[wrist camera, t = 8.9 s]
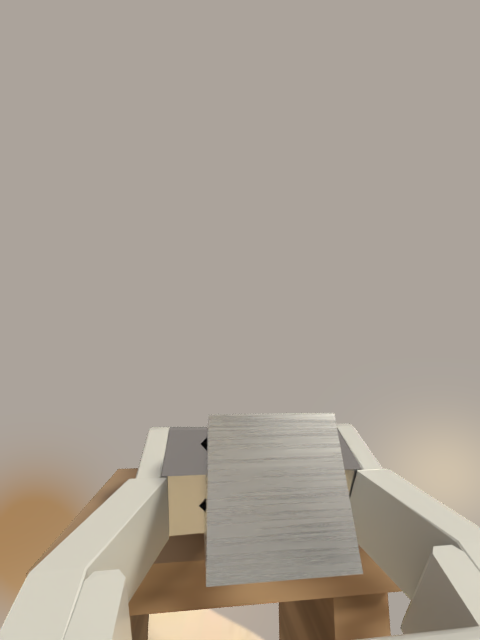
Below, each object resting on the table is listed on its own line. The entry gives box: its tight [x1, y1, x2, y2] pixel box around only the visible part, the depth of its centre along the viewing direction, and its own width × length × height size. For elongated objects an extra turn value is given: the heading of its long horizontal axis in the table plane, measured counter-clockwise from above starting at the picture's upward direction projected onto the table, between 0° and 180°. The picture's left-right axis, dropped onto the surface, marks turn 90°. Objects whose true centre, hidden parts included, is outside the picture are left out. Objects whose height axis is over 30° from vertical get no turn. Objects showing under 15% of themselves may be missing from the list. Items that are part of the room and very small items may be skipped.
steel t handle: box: [204, 413, 363, 587], centre depth 13 cm, size 8×18×4 cm, turn 7°
